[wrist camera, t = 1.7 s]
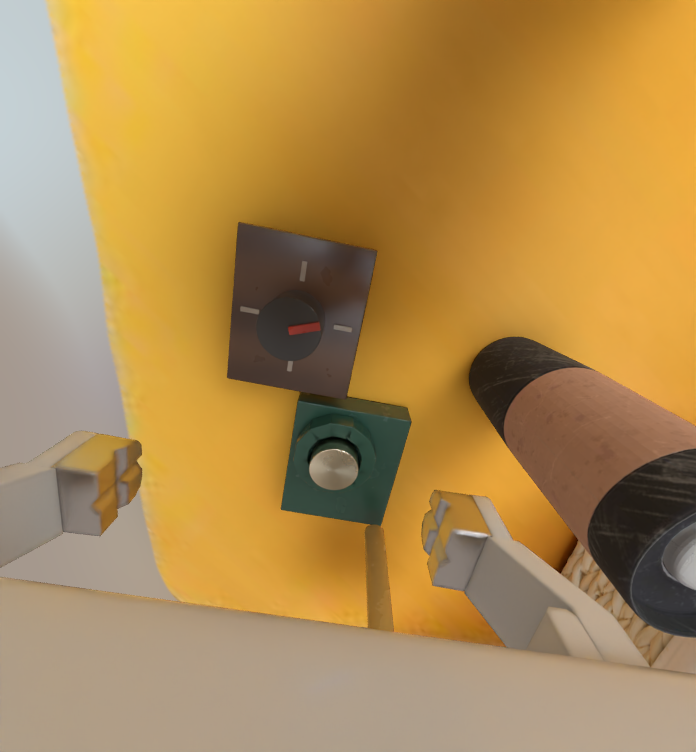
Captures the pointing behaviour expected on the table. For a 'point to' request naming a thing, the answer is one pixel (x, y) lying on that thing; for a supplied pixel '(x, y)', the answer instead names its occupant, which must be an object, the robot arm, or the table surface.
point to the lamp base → (374, 448)
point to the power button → (334, 464)
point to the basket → (630, 617)
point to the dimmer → (314, 276)
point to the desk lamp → (377, 580)
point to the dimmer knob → (291, 325)
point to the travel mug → (602, 470)
